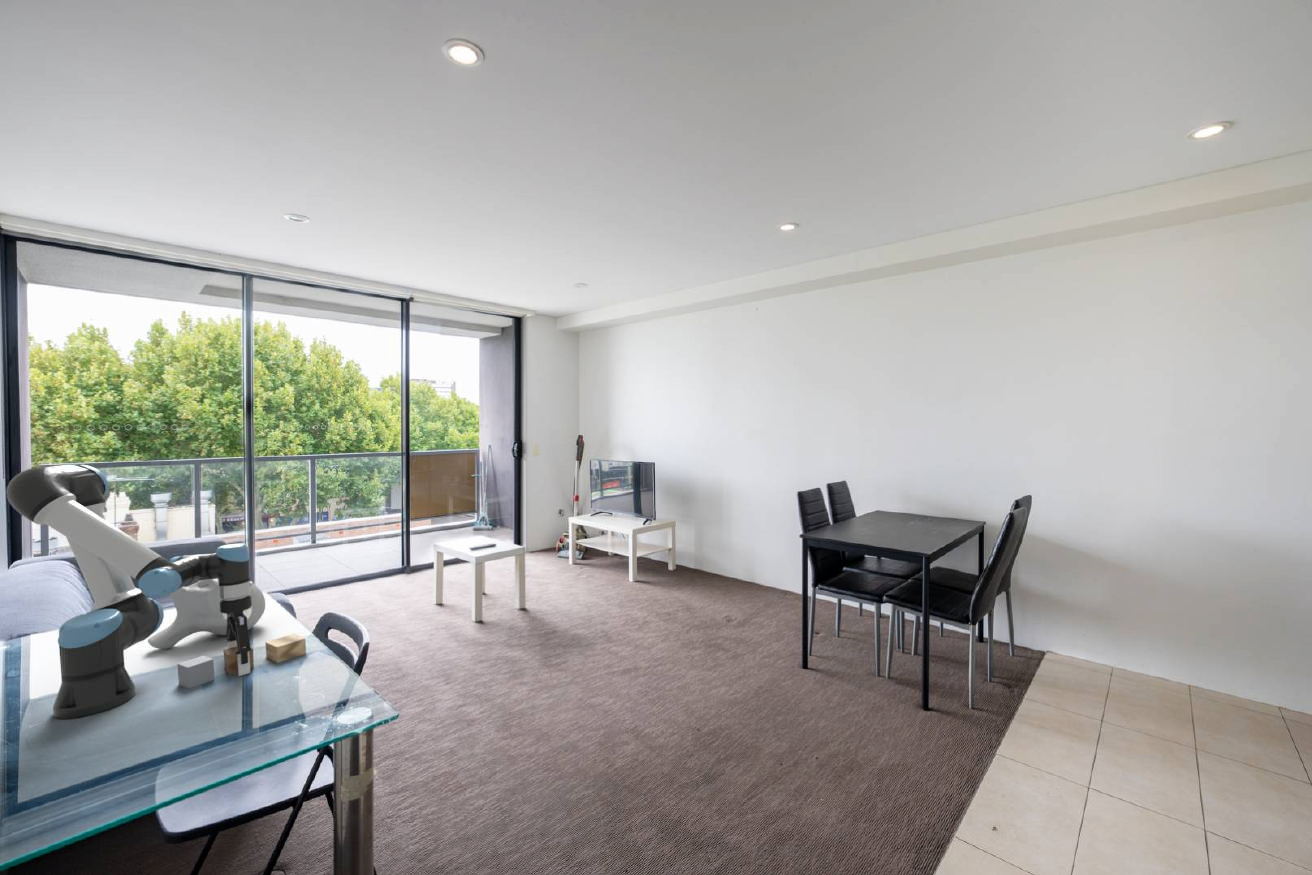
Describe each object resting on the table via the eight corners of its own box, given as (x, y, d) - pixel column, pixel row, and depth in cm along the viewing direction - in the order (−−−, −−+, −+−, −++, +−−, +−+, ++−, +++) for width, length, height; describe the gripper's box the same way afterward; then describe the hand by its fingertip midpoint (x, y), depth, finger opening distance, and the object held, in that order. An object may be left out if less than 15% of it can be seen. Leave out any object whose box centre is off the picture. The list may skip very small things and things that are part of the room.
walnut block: (228, 675, 161) (227, 655, 160) (224, 669, 165) (223, 649, 164) (253, 668, 165) (252, 648, 165) (249, 662, 169) (248, 643, 169)
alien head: (121, 607, 182) (228, 550, 204) (165, 664, 190) (264, 603, 212) (130, 620, 168) (244, 558, 190) (177, 680, 177) (281, 614, 199)
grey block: (189, 688, 153) (187, 667, 153) (178, 684, 156) (177, 663, 155) (214, 679, 158) (213, 659, 158) (204, 675, 161) (202, 655, 161)
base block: (277, 663, 168) (276, 647, 168) (266, 658, 172) (265, 642, 172) (306, 653, 175) (305, 638, 174) (294, 648, 179) (293, 633, 179)
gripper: (260, 601, 159) (264, 674, 159) (241, 586, 175) (245, 653, 176) (228, 608, 153) (232, 684, 154) (211, 592, 170) (215, 661, 170)
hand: (239, 667), depth 165 cm, fingers open, 12 cm apart
